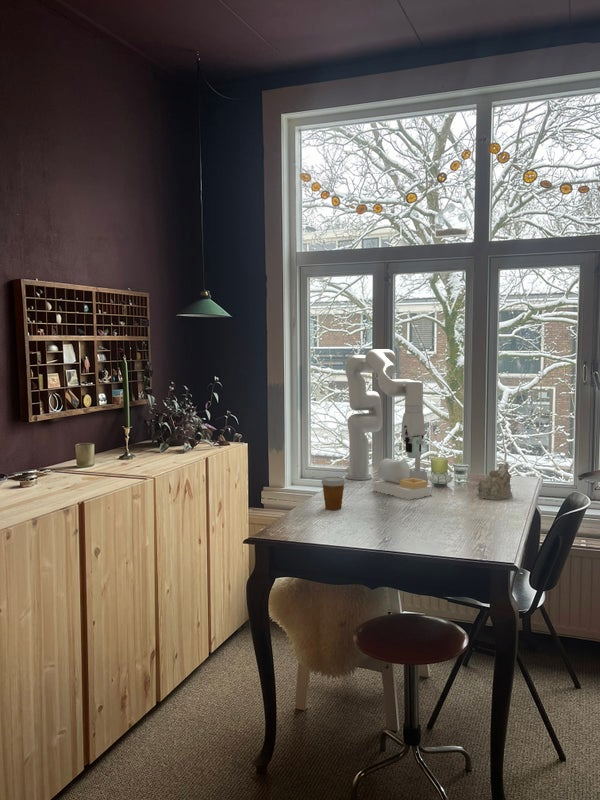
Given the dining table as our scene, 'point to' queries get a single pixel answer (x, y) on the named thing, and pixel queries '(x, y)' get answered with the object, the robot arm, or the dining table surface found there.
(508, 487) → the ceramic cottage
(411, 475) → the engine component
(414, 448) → the drain pump
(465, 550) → the dining table surface
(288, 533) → the dining table surface
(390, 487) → the motor plinth
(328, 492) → the disposable coffee cup
